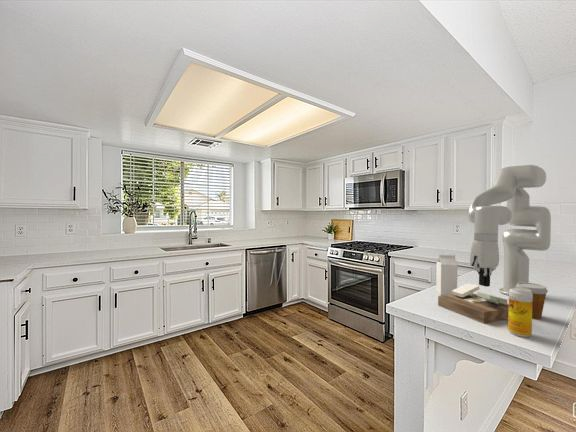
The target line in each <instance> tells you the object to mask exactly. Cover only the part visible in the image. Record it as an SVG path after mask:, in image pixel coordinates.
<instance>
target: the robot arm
mask: <svg viewBox="0 0 576 432" xmlns="http://www.w3.org/2000/svg"><path fill="white" fill-rule="evenodd" d="M546 181H547V173H546V171H545V169H544V168H542V167H539V166H538V165H535V164H526V165H525V164H522V165H514V166H513V165H512V166H506V167H502V168H501V169H499V171H498V172H497V173H496V176H495V179H494V180H493V183H492V185H491V188H488V189H487V190H485V191H483V192H482V193H480V194H478V195H477V196H476V197H475V198H473V200H472V202H471V204H470V206H469V209H468V210H467V211H468V212H467V219H468V221H469V222H470V223H471V224H474V225H473V226H474V230H473V233H474V234H473V235H474V236H473V241H472V244H471V247H470V248H471V249H470V254H469V255H470V257H469V265H470V267H473V269H472V270H473V271H475V272H477V275H478V286H482V287H485V288H486V287H490V286H491V276H492V273H493V271H496V270H497V268H498V266H499V263H500V251H499V243H498V242H499V226H503V225H507V224H508V225H510V226H514V227H531V228H533V227H534V228H535V229H527V228H525V229H524V228H509V229H506V230H504V231H503V233H502V236H501V239H502V243H503V257H504V258H503V285H502V287H500V288H499V293H501V294H503V295H506V296H509V290H510V289H511V287H516V286H517V283H520V282H526V283H530V282H529V281H530V280H529V279H530V257H529V255H528V254H527V253H526V252H525V250H529V251H540V252H544V251H547V250H549V249H550V247H551V236H552V235H551V231H552V228H551V225H552V215H551V211H550V209H548V208H547V207H546V206H540V205H539V206H531V204H530V195H529V193H528V192H527V190H525V189H532V188H533V189H534V188H542V187H543V186H544V185H545V183H546ZM504 202H506V206H505V205H497V204H501V203H504Z"/></svg>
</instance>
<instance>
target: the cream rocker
mask: <svg viewBox="0 0 576 432" xmlns="http://www.w3.org/2000/svg"><path fill="white" fill-rule="evenodd" d="M479 290H480V285H479V284H478V285H477V284H474V283H470V282H467V283H465V284H463V285H461V286H459V287H458V286H457V288H456V289H454V290H452V294H454V295H457V296H460V297H465V296H467V295H470V296H472V295H473V293H475V292H478V291H479Z"/></svg>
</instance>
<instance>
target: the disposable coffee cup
mask: <svg viewBox="0 0 576 432" xmlns="http://www.w3.org/2000/svg"><path fill="white" fill-rule="evenodd" d="M516 287H520V288H526V289H529V290H531V292H532V294H533V303H532V320H533V319H535V320H539V319H542V317H543V316H542V315H543V310H544V306H545V302H546V301H545V300H546V296H547V294H548V292H549V290H548V289H547V287H546V286H545V285H542V284H539V283H535V282H534V283H532V282H529V283H526V282H520V283H517V286H516Z"/></svg>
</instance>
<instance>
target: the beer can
mask: <svg viewBox="0 0 576 432" xmlns="http://www.w3.org/2000/svg"><path fill="white" fill-rule="evenodd" d="M532 303H533V294H532V292H531V290H529V289H526V288H520V287H511V289H510V290H509V295H508V304H509V313H508V319H507V321H508V322H507V324H508V325H507V330H508V331H509V333H510V334H512V335H514V336H517V337H520V338H529V337H530V336H531V335H532V333H533V332H532V331H533V326H532V325H533V318H532Z"/></svg>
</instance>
